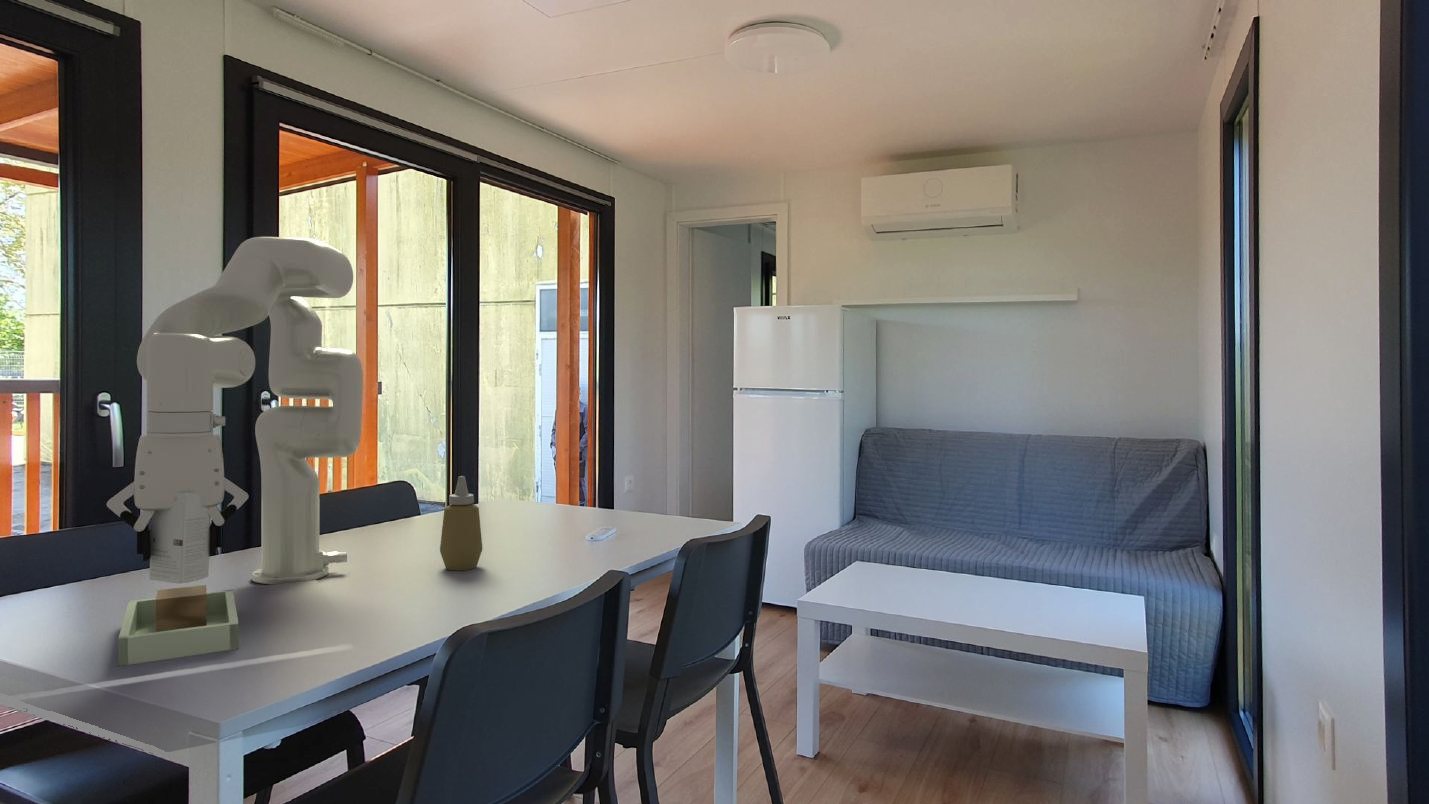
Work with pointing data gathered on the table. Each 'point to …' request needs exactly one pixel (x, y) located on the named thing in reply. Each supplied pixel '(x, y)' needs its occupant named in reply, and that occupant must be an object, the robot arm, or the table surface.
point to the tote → (177, 632)
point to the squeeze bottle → (461, 530)
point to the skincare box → (180, 541)
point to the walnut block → (181, 608)
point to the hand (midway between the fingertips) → (180, 555)
